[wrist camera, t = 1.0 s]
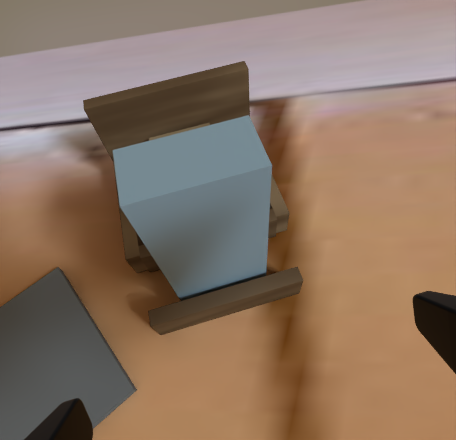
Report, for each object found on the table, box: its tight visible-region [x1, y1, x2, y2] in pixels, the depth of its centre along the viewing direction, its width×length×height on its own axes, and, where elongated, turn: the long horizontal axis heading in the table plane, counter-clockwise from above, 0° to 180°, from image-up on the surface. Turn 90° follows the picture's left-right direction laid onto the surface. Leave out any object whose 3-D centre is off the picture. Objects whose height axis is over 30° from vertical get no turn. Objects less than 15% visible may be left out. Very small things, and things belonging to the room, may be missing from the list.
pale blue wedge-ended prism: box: [113, 115, 272, 301], centre depth 19 cm, size 3×6×13 cm, turn 106°
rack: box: [83, 61, 303, 335], centre depth 24 cm, size 15×12×8 cm
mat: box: [0, 267, 137, 440], centre depth 22 cm, size 11×11×1 cm
